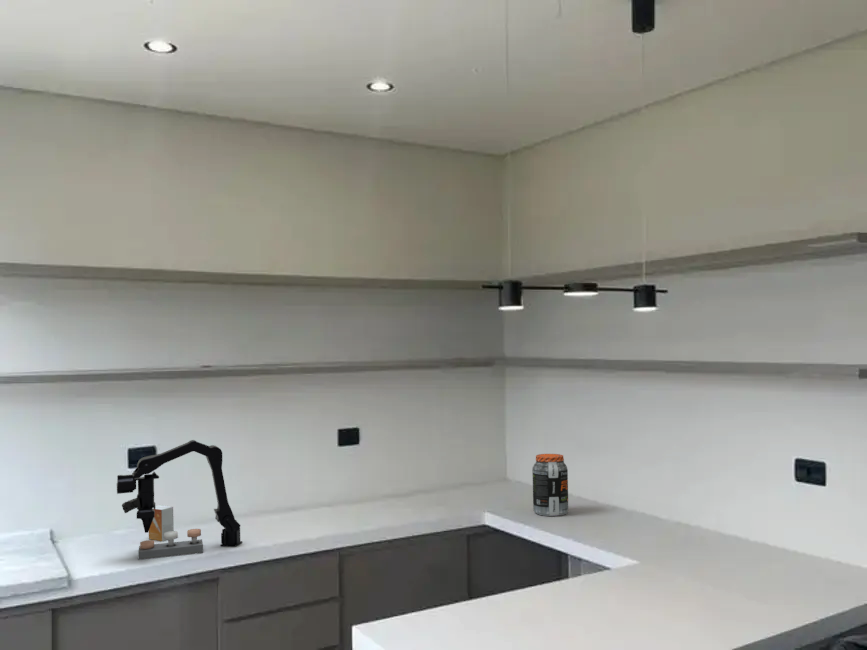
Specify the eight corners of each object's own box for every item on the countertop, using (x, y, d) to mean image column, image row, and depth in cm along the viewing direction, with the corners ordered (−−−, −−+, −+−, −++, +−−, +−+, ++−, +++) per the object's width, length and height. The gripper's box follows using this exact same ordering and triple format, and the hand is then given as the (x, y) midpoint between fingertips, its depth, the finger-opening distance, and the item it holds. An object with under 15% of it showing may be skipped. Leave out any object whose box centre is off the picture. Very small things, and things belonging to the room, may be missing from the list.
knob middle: (177, 543, 293) (177, 530, 293) (178, 547, 288) (177, 533, 288) (164, 545, 291) (163, 531, 291) (164, 548, 286) (163, 534, 287)
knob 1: (154, 553, 290) (154, 539, 290) (154, 556, 285) (154, 542, 285) (140, 554, 288) (140, 541, 288) (140, 557, 284) (139, 544, 284)
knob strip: (202, 546, 298) (202, 539, 298) (203, 552, 289) (202, 544, 289) (139, 553, 290) (139, 545, 290) (138, 559, 282) (138, 551, 282)
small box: (148, 539, 311) (147, 507, 312) (160, 535, 317) (160, 504, 317) (162, 541, 307) (161, 509, 308) (174, 538, 313) (173, 506, 313)
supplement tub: (568, 517, 331) (567, 458, 332) (532, 516, 334) (530, 458, 335) (568, 509, 347) (567, 452, 348) (534, 508, 350) (532, 452, 350)
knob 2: (200, 541, 296) (200, 528, 296) (201, 544, 291) (201, 531, 291) (187, 542, 294) (187, 529, 294) (187, 545, 289) (187, 532, 289)
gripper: (124, 488, 293) (125, 529, 293) (121, 497, 276) (122, 540, 275) (155, 486, 297) (155, 526, 297) (154, 494, 279) (154, 537, 279)
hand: (146, 532), depth 287 cm, fingers closed
